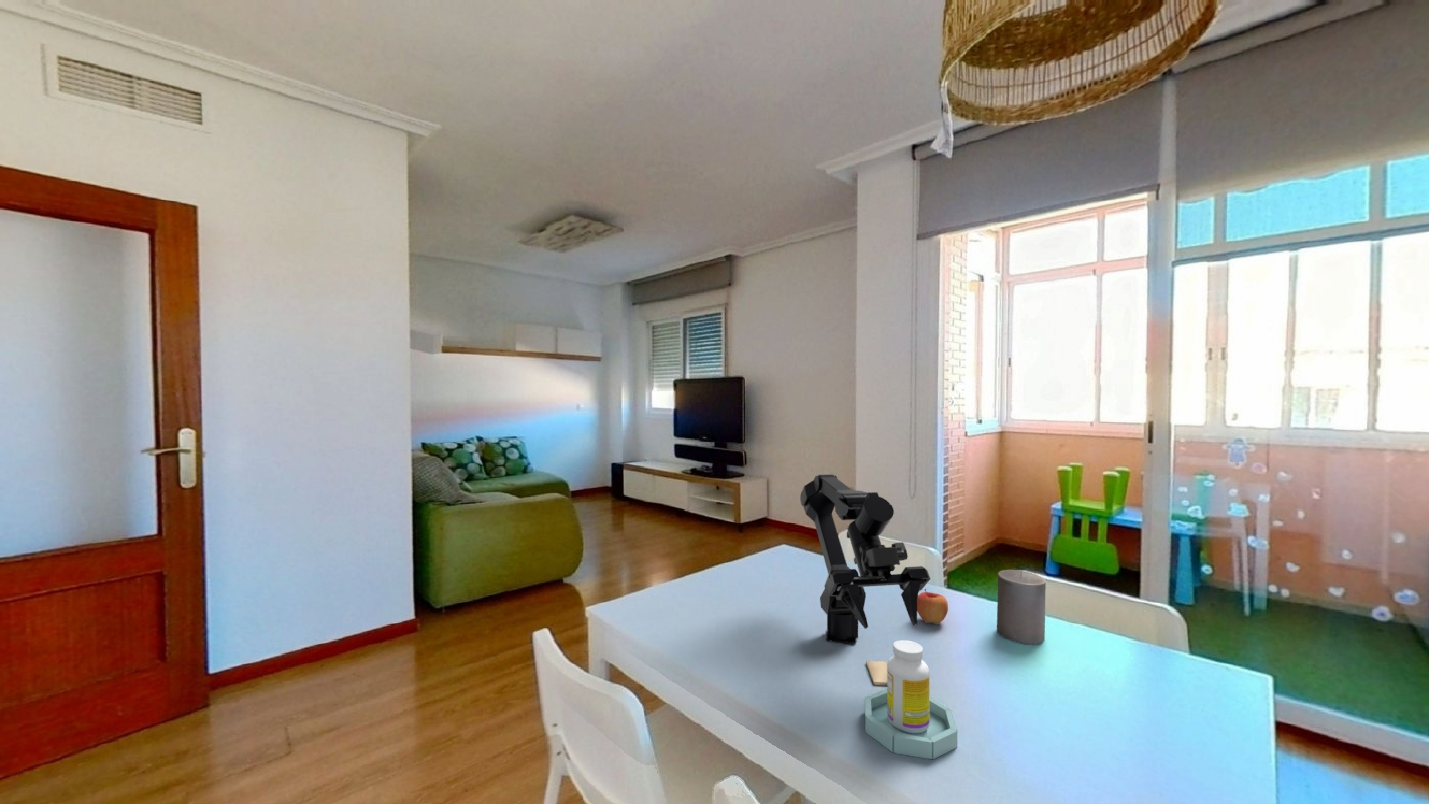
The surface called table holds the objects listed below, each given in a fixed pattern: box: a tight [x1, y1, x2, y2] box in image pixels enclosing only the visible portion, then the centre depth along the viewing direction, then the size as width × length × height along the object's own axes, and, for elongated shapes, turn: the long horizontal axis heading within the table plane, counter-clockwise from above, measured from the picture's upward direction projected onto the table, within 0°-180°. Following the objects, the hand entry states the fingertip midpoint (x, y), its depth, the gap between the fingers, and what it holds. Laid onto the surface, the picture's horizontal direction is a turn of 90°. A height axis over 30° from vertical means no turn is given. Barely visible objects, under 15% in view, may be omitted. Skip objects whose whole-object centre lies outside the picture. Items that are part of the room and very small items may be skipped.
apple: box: [917, 588, 949, 625], centre depth 129 cm, size 7×7×8 cm
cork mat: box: [865, 660, 888, 686], centre depth 105 cm, size 10×8×1 cm
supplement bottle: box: [886, 639, 930, 734], centre depth 88 cm, size 7×7×13 cm
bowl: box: [864, 688, 958, 760], centre depth 88 cm, size 14×14×3 cm
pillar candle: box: [996, 569, 1047, 646], centre depth 122 cm, size 10×10×15 cm
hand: (891, 626), depth 96 cm, fingers open, 9 cm apart
